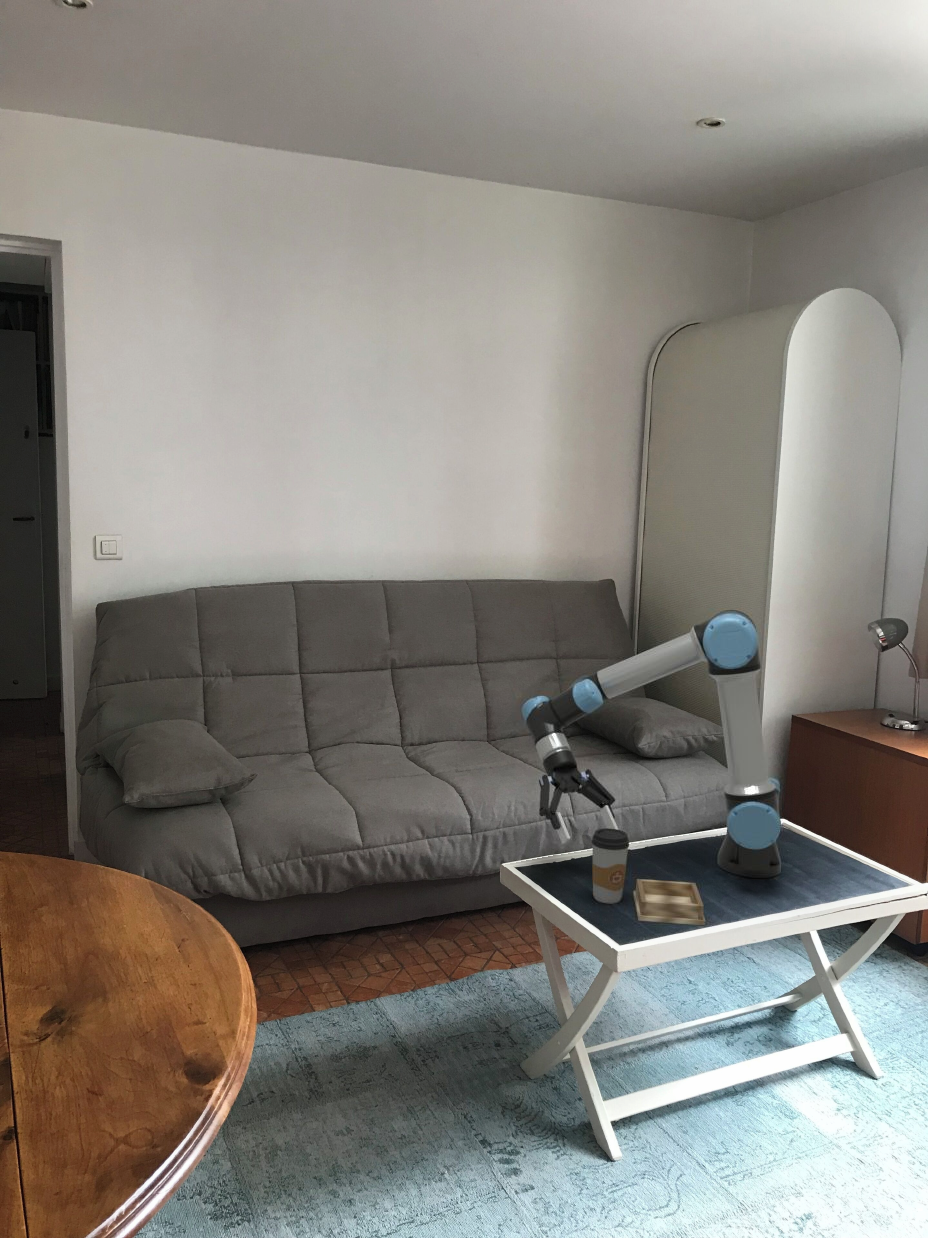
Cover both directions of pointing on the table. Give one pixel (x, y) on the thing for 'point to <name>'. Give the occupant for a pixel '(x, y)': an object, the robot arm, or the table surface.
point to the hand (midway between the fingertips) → (591, 837)
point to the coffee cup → (609, 864)
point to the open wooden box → (668, 902)
